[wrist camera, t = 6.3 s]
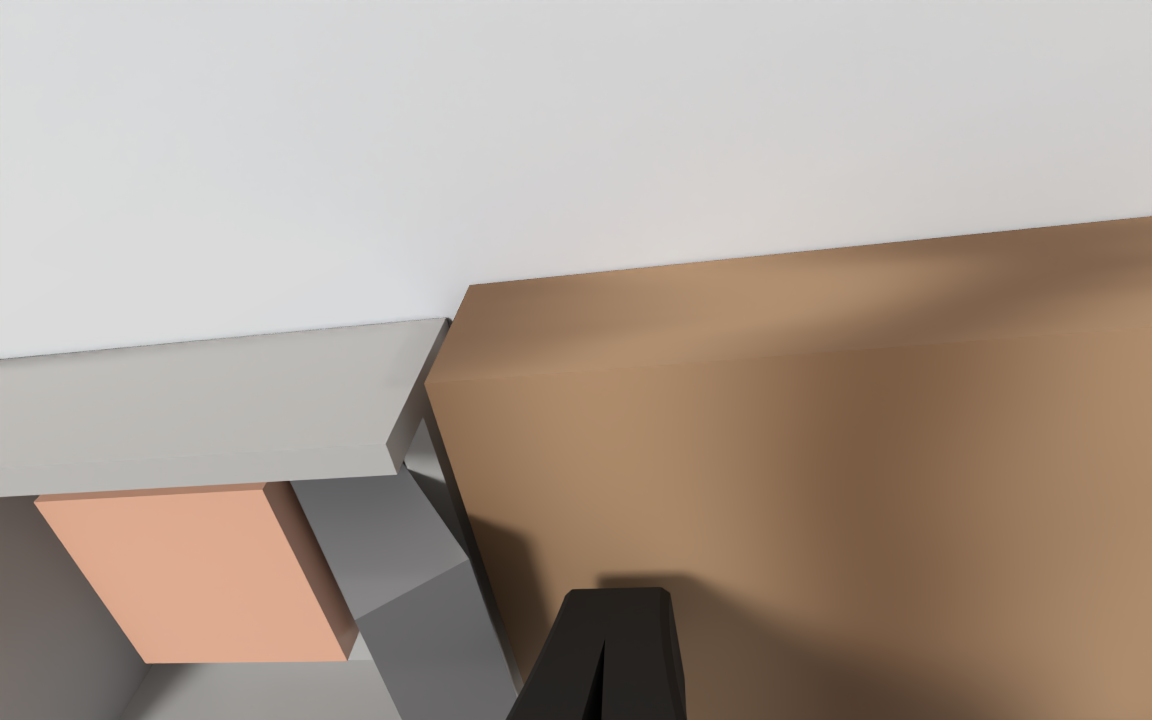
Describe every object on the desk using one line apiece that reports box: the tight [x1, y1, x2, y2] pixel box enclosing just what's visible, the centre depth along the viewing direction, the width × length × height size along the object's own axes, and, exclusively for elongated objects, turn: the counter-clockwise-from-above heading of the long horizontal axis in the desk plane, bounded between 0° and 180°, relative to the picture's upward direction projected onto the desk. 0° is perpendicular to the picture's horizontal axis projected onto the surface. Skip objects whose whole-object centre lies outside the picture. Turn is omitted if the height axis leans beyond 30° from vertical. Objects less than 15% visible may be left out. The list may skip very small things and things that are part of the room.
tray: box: [0, 317, 524, 720], centre depth 14 cm, size 9×8×4 cm
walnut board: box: [424, 216, 1152, 720], centre depth 12 cm, size 12×8×2 cm, turn 100°
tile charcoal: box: [290, 463, 517, 720], centre depth 13 cm, size 4×4×2 cm
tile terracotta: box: [34, 481, 359, 663], centre depth 15 cm, size 4×4×2 cm
